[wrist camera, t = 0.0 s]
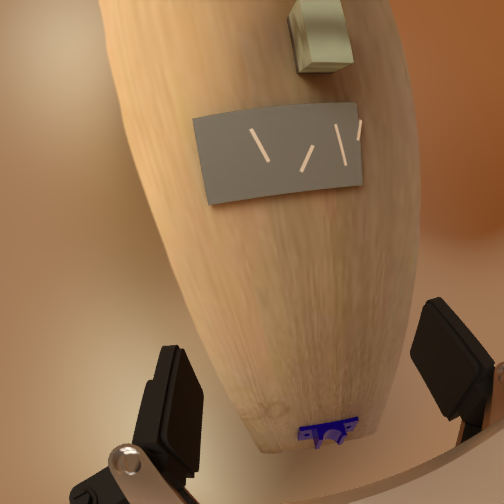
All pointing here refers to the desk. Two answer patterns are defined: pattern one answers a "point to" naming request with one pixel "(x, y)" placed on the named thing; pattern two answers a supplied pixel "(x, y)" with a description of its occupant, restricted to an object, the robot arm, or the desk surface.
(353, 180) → the board
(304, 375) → the desk surface
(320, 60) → the block
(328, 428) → the mounting bracket
